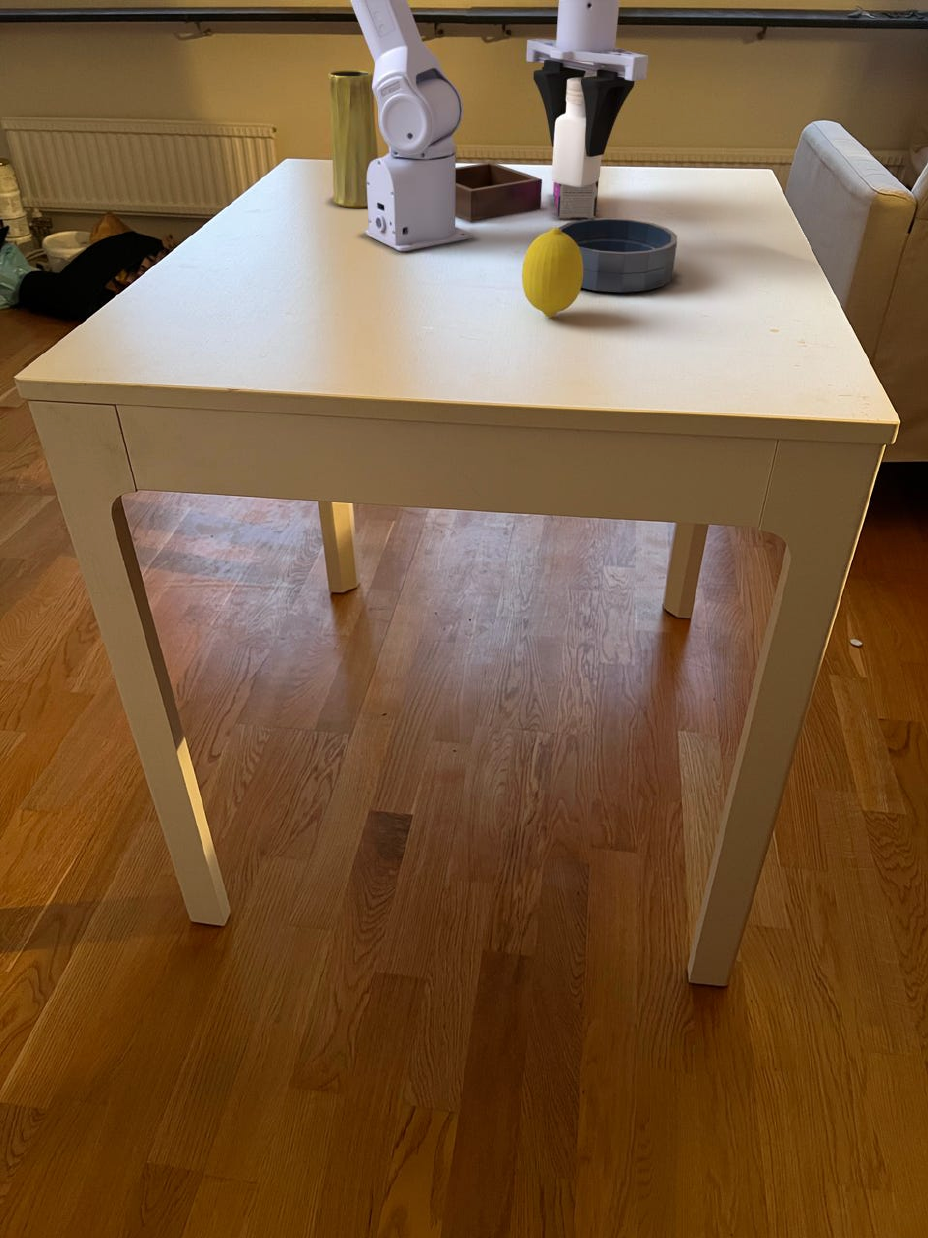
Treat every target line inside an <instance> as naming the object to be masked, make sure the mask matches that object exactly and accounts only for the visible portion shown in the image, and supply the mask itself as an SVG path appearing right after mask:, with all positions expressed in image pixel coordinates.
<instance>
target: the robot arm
mask: <svg viewBox="0 0 928 1238" xmlns="http://www.w3.org/2000/svg"><path fill="white" fill-rule="evenodd" d="M349 1H350V4H351V7H352V9H353V12H354V14H355V17H356V19H357V21H358V24H359V27H360V29H361V31H362V34H363V36H364V37H363V38H364V39H365V42H366V44H367V48H368V50H369V52H370V54H371V56H372V59H373V62H374V71H373V83H372V90H373V92H374V98H375V100H376V103H377V111H378V112H377V114H378V115H377V116H378V117H377V118H378V119H377V120H378V121H377V122H378V127H379V128H378V129H379V132H380V134H381V136H382V138H383V140H384V142H385V143H386V144H387V146H388V151H389V152H388V153H386V154H385V155H384V156H382V157H378V159H375V160H373V161H372V162H371V163H370V165H369V167H368V171H367V201H368V207H367V217H368V218H367V219H368V229H366V230H365V235H366V236H368V237H370V238H373V239H374V240H376V241H378V242H381V243H383V244H384V245H387V246H388V247H391V248H393V249H395V250H397V251H399V252H407V251H412V250H417V249H422V248H428V247H432V246H437V245H442V244H447V243H453V242H457V241H462V240H467V239H471V238H472V234H471V232H468V231H466V230H463V229H461V228H459V227H457V226H456V216H455V176H456V168H457V167H456V165H457V164H456V157H457V155H456V154H457V153H456V148H457V147H456V143H455V141H454V134H455V133H456V132H457V130H458V129H459V127H460V126H461V123H462V121H463V117H464V101H463V98H462V95H461V92H460V91H459V89H458V87H457V86H456V85H455V84H454V82H452V81H451V80H450V78H448V77H447V75H446V74H445V72H444V70H443V68H442V66H441V65H442V64H441V63H440V59H439V58H438V57H437V56H436V55H435V54H434V52H433V51H432V50H430V48H429V47H428V46H427V45H426V44H425V43H424V41H423V40H422V37H421V34H420V32H419V29H418V26H417V24H416V21H415V18H414V15H413V13H412V11H411V7H410V5H409V3H408V0H349ZM619 9H620V0H558V9H557V24H556V38H555V39H547V38H534V39H533V38H532V39H527V40H526V55H525V56H526V58H525V61H526V62H528V63H540V64H541V63H542V64H543V66H542V67H541V69H536V70H534V71H533V76H532V77H533V78H532V79H533V81H534V83H535V85H536V87H537V90H538V92H539V94H540V97H541V100H542V104H543V107H544V110H545V114H546V119H547V124H548V130H549V137H550V143H551V147H552V149H553V148H554V133H555V122H556V119H557V118H558V117H559V116H561V115H563V114H565V113H566V103H567V102H566V94H567V93H566V90H567V80H568V79H570V78H581V86H582V91H583V96H584V102H585V113H586V129H585V147H586V155H587V156H589V157H594V156H599V155H602V156H603V155H605V152H606V149H607V145H608V142H609V139H610V136H611V134H612V131H613V128H614V125H615V123H616V120H617V118H618V116H619V113H620V111H621V109H622V107H623V105H624V104H625V101H626V100H627V98H628V97H629V95H630V93H631V92H632V90H633V89H634V87H635V82H636V81H640V80H646V79H647V73H648V65H649V55H646V54H641V53H636V52H633V51H630V50H626V49H624V48H620V47H616V42H617V31H618V30H617V29H618V20H619ZM568 60H570V61H568ZM574 61H580V62H590V63H593V65H591V64H585V63H579V62H574ZM602 66H605V67H602ZM586 71H590V72H595V73H597V76H592V77H585V78H584V75H585V73H586Z"/></svg>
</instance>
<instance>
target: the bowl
mask: <svg viewBox="0 0 928 1238" xmlns="http://www.w3.org/2000/svg"><path fill="white" fill-rule="evenodd" d="M557 228H558V229H559V230H560V231H561V232H562V233H564V234H566V235H568V236H570V237H571V238H572V239H573V240H574V241H575V242H576V244H577V245H578V247H579V249H580V252H581V256H582V261H583V280H582V286H581V289H586V290H592V291H596V292H604V293H605V292H606V293H633V292H644V291H645V292H646V291H649V290H653V289H657V288H661V287H663V286H665V285H666V284H667V283H669V282H670V281H672V280H673V275H674V266H675V261H676V253H677V252H676V251H677V245H678V235H677V234H676V233H675V232H674V231H672V230H671V229H669V228H668V227H665V226H661V225H659V224H656V223H654V222H648V221H642V220H636V219H630V218H617V217H616V218H615V217H603V218H602V217H600V218H596V219H583V220H575V221H571V222H567V223H565V224H563V225H561V226H559V227H557Z"/></svg>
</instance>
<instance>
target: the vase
mask: <svg viewBox="0 0 928 1238" xmlns="http://www.w3.org/2000/svg"><path fill="white" fill-rule="evenodd" d="M327 75H328V76H327V77H328V78H327V79H328V87H329V88H328V91H329V110H330V111H329V112H330V132H331V133H330V134H331V159H332V186H333V187H332V188H333V199H332V201H333V202H334V204H335V205H337V206H339V207H343V208H350V209H351V208H352V209H357V208H358V209H361V208H368V201H367V171H368V167H369V165H370V163H371V162H372V161H373V160H375V159H378V158H379V151H378V150H379V149H378V138H377V131H376V116H375V115H376V114H375V95H374V92H373V90H372V83H373V77H374V73H373V72H371V71H369V70H364V69H363V70H362V69H339V70H333V71H329V72H328V74H327Z"/></svg>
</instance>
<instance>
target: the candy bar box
mask: <svg viewBox="0 0 928 1238" xmlns="http://www.w3.org/2000/svg"><path fill="white" fill-rule="evenodd" d="M568 61H570V60H568ZM574 62H579V63H585V64H591V65H593V63H590V62H580V61H574ZM602 67H605V66H602ZM592 76H597V73H595V72H590V71H586V73H585V75H584V78H585V77H592ZM599 180H600V179H599ZM599 180H598V181H597V182H594V183H592V184H589V185H586V186H584V187H580V188H578V187H573V186H568V185H563V184H558V183H555V182H554V181H553V186H552V187H553V189H552V195H553V196H552V197H553V201H554V207H555V211H556V216H557V219H559V220H564V221H565V220H568V221H569V220H572V221H573V220H575V221H579V220H584V219H597V207H598V197H599V195H598V194H599V193H598V192H599V182H600V181H599Z"/></svg>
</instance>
